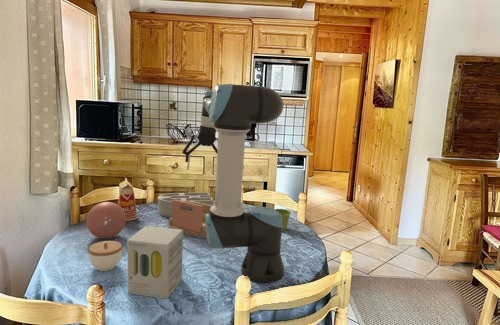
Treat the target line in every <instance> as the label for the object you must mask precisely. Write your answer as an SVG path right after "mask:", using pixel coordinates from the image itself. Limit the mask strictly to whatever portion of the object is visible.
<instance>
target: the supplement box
mask: <svg viewBox="0 0 500 325" xmlns="http://www.w3.org/2000/svg"><path fill="white" fill-rule="evenodd" d="M183 245H184V233H183V230H181V229H171V228H169V227H163V226H162V227H160V226H151V225H146V226H144V227H143V228H141V229H140V230H138V231H137V232H136V233H134V234H133V235H132V236H131V237H130V238H128V239H127V294H131V295H138V296H146V297H152V298H160V299H166V300H167V299H169V298H170V297H171V295H172V293H173V292H174V291H175V290H176V288H177V287H178V285H179V284H180V283H181V281H182V280H183V252H184V250H183V248H184V246H183Z"/></svg>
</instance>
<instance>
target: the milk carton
mask: <svg viewBox="0 0 500 325" xmlns="http://www.w3.org/2000/svg"><path fill="white" fill-rule="evenodd" d="M118 189H119V190H118V191H119V192H118V201H117V205H119V206H120V207H121V208H122V209H123V211H124V213H125V216H126V222H127V221H128V222H129V221H133V220H137V218H138V214H137V204H136V197H135V191H134V187H133V185H132V184H131V182H129V181H128V179H127V177H125V178H124V181H122V182H120V183H119V185H118Z"/></svg>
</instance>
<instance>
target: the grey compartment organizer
mask: <svg viewBox="0 0 500 325" xmlns="http://www.w3.org/2000/svg"><path fill="white" fill-rule="evenodd" d="M172 200H179V201H184V202H188V201H194V202H199V203H204V204H209V205H214V199H213V197H212V196H211V193H209V192H207V191H206V192H205V191H204V192H172V193H171V192H169V193H163V194H160V195H157V212H158V215H160V216H163V217H166V218H167V217H169V218H172Z"/></svg>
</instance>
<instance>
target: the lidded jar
mask: <svg viewBox="0 0 500 325" xmlns="http://www.w3.org/2000/svg"><path fill="white" fill-rule="evenodd" d="M88 253H89V261H90V263H91V266H92V267H93V268H95V269H96V270H97V269H98V270H100V271H99V272H103V271H104V272H109V271H108V270H110V271H112V270H114V269H115V268H116V266H118V265H119V263H120V261H121V259H122V253H123V244H122V243H121V242H120V241H116V240H103V241H99V242H95V243H92V244H91V245H90V246H89V247H88ZM98 270H97V271H98Z"/></svg>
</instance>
